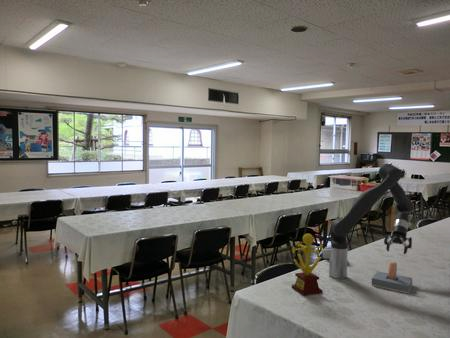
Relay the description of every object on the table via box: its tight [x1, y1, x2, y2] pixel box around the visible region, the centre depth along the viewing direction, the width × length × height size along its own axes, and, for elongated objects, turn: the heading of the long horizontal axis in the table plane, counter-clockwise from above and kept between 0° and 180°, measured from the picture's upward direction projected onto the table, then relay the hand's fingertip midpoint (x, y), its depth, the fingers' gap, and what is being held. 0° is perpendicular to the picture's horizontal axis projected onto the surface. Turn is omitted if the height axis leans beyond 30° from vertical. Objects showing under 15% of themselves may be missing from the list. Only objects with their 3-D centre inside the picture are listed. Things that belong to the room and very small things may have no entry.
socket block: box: [371, 270, 413, 294], centre depth 193 cm, size 18×14×4 cm
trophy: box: [291, 233, 324, 297], centre depth 183 cm, size 14×16×30 cm
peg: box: [387, 261, 398, 280], centre depth 192 cm, size 4×4×12 cm
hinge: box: [322, 246, 349, 263], centre depth 235 cm, size 17×5×10 cm, turn 44°
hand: (396, 252), depth 200 cm, fingers open, 8 cm apart
